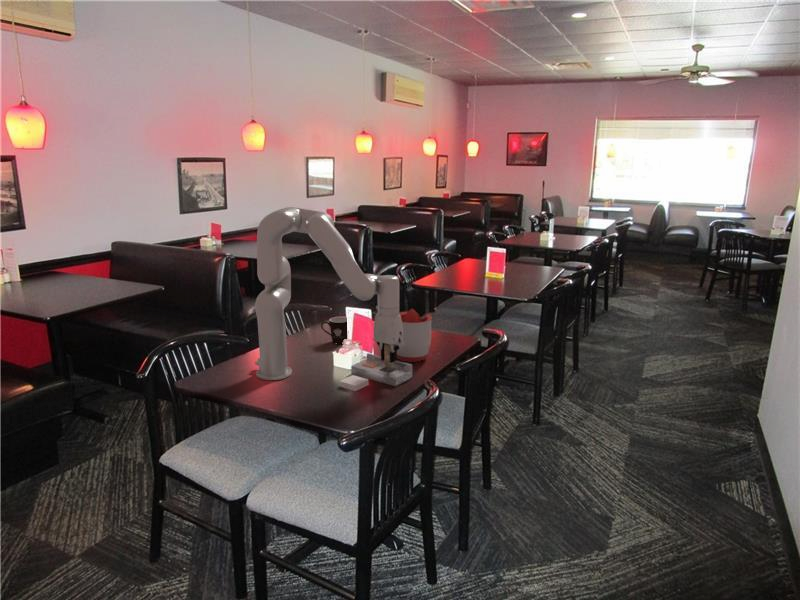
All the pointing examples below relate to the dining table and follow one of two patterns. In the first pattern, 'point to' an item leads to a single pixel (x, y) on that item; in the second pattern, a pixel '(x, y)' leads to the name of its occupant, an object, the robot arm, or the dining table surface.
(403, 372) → the grey tray
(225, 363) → the dining table surface
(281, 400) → the dining table surface
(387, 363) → the peg
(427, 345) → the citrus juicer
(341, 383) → the white flat square block
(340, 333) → the coffee mug
